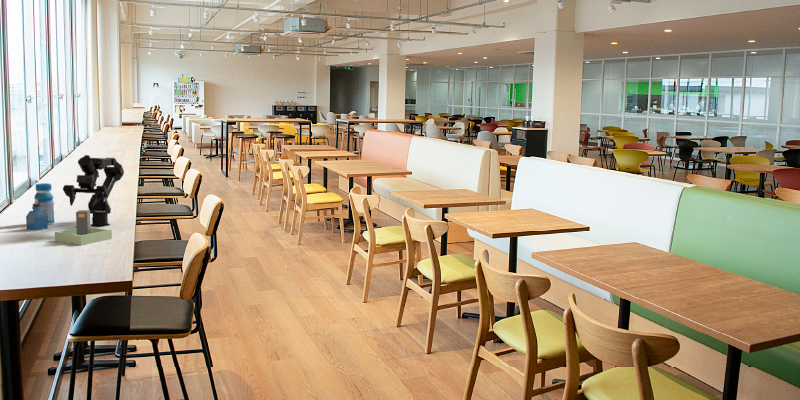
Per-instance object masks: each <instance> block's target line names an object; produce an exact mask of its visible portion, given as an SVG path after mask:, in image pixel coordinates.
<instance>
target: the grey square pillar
mask: <svg viewBox="0 0 800 400" xmlns="http://www.w3.org/2000/svg"><path fill="white" fill-rule="evenodd" d="M75 223H76V224H75V225H76V227H75V228H77V235H86V234H91V229H90V227H91V214H90V210H89V209H85V210H84V209H83V210H81V209H80V210H77V211H76V212H75Z"/></svg>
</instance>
